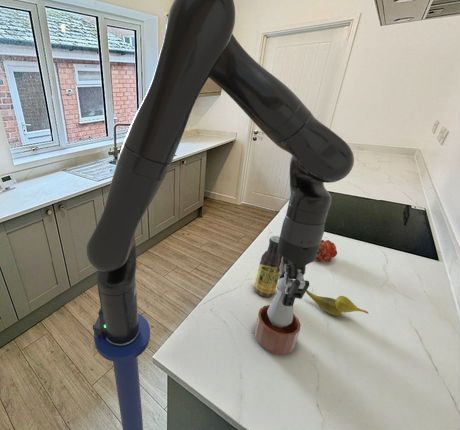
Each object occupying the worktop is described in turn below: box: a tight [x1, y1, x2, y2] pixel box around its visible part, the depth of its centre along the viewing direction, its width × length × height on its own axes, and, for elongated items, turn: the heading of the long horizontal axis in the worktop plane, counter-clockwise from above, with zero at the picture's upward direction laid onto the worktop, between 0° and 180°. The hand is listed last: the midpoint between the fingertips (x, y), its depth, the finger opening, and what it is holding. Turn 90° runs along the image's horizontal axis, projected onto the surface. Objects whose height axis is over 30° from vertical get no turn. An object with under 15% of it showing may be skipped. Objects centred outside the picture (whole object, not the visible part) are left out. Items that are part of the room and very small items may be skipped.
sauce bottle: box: [253, 235, 280, 298], centre depth 80 cm, size 7×6×20 cm
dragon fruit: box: [314, 239, 338, 263], centre depth 97 cm, size 8×8×12 cm
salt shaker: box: [267, 278, 294, 328], centre depth 63 cm, size 6×6×13 cm
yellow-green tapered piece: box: [305, 289, 370, 316], centre depth 75 cm, size 4×15×6 cm, turn 47°
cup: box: [254, 304, 302, 356], centre depth 68 cm, size 10×10×7 cm
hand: (284, 296), depth 63 cm, fingers closed on salt shaker, 4 cm apart
